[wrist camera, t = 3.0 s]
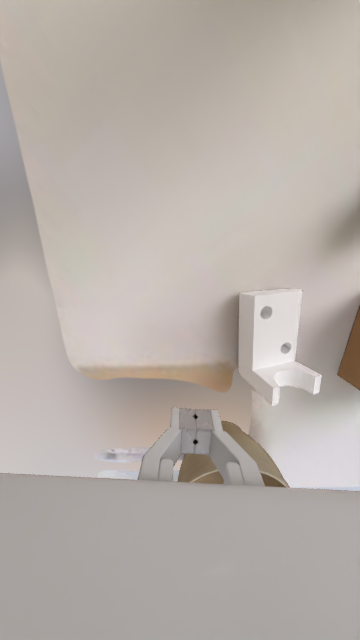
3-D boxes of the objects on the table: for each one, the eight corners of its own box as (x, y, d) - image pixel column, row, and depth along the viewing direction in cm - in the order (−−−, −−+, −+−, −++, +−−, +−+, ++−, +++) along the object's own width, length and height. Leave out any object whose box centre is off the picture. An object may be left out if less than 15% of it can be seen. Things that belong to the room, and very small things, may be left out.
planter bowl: (279, 422, 33) (323, 495, 22) (235, 479, 37) (256, 562, 27) (199, 391, 31) (207, 453, 21) (164, 453, 36) (155, 531, 25)
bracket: (276, 364, 30) (318, 392, 23) (238, 373, 29) (271, 405, 22) (281, 287, 27) (334, 293, 20) (239, 292, 25) (279, 301, 18)
